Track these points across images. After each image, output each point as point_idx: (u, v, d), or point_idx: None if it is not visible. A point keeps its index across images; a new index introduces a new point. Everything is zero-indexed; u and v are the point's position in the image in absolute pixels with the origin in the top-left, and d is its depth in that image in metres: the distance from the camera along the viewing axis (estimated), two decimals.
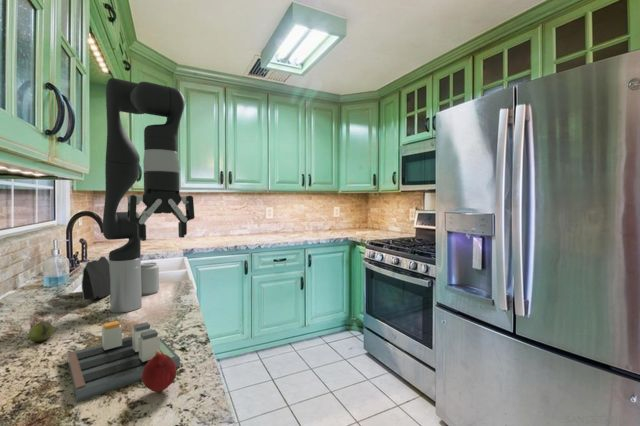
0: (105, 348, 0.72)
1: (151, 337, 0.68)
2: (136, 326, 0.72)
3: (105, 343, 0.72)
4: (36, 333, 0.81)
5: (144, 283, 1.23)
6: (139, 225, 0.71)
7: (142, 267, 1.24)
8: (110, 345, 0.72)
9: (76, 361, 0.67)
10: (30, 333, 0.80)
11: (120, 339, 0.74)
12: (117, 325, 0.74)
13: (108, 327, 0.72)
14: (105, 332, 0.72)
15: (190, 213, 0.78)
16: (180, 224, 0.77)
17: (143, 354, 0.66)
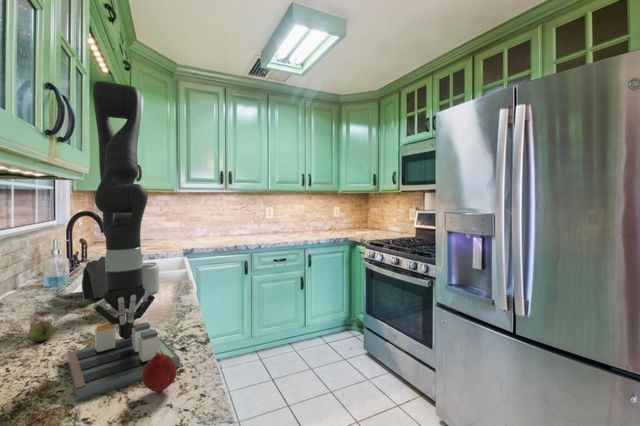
0: (98, 350, 0.71)
1: (151, 337, 0.68)
2: (136, 326, 0.72)
3: (98, 345, 0.71)
4: (36, 333, 0.81)
5: (144, 283, 1.23)
6: (120, 325, 0.74)
7: (142, 267, 1.24)
8: (103, 347, 0.72)
9: (76, 361, 0.67)
10: (30, 333, 0.80)
11: (113, 341, 0.73)
12: (110, 327, 0.73)
13: (101, 329, 0.71)
14: (98, 334, 0.71)
15: (140, 311, 0.77)
16: None
17: (143, 354, 0.66)
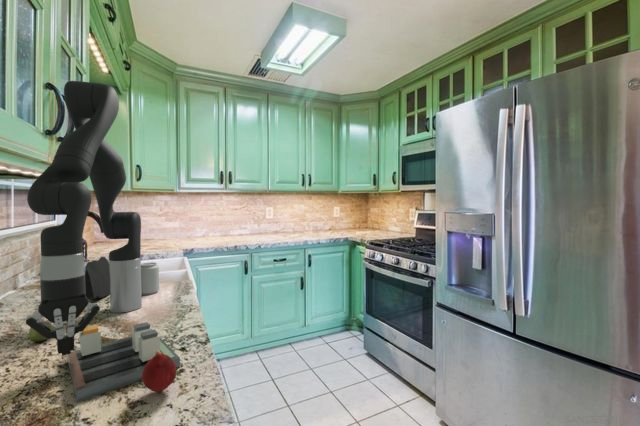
0: (83, 354, 0.69)
1: (151, 337, 0.68)
2: (136, 326, 0.72)
3: (83, 349, 0.69)
4: (36, 333, 0.81)
5: (144, 283, 1.23)
6: (58, 340, 0.67)
7: (142, 267, 1.24)
8: (88, 351, 0.70)
9: (76, 361, 0.67)
10: (30, 333, 0.80)
11: (99, 344, 0.71)
12: (96, 330, 0.71)
13: (86, 332, 0.70)
14: (83, 337, 0.69)
15: (82, 324, 0.69)
16: None
17: (143, 354, 0.66)
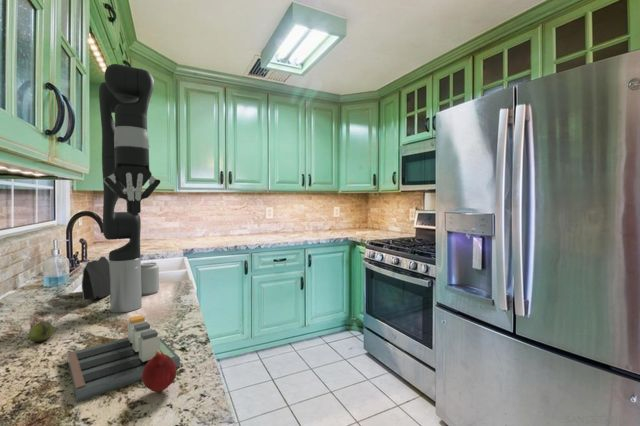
0: (131, 341, 0.75)
1: (151, 337, 0.68)
2: (136, 326, 0.72)
3: (131, 336, 0.75)
4: (36, 333, 0.81)
5: (144, 283, 1.23)
6: (128, 201, 0.79)
7: (142, 267, 1.24)
8: None
9: (76, 361, 0.67)
10: (30, 333, 0.80)
11: None
12: (142, 319, 0.77)
13: (134, 321, 0.76)
14: (131, 326, 0.75)
15: (147, 192, 0.81)
16: None
17: (143, 354, 0.66)
